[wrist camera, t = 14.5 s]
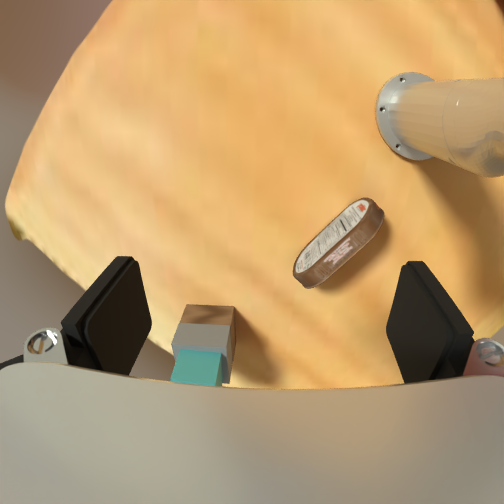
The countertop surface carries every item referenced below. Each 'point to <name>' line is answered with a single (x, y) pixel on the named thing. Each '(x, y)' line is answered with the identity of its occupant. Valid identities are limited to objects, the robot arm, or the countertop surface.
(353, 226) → the tin
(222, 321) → the tower base
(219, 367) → the teal cube
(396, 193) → the countertop surface
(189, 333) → the block
